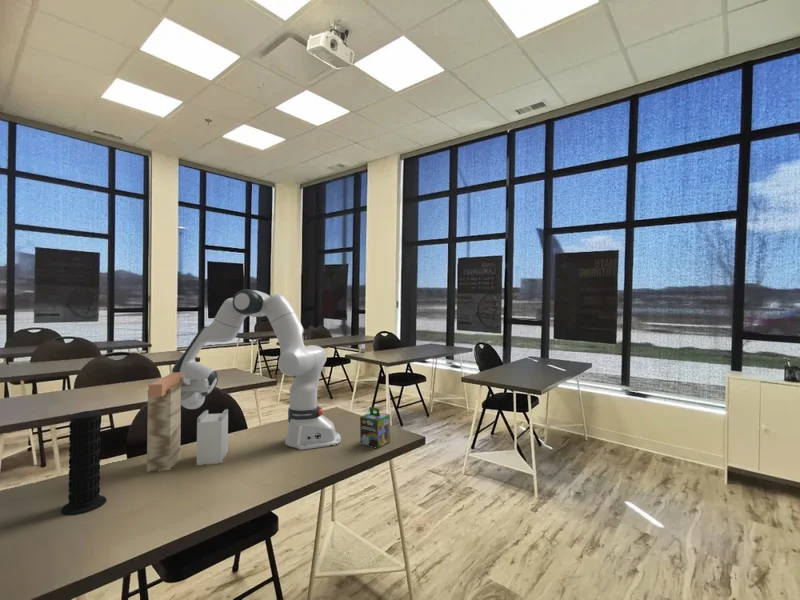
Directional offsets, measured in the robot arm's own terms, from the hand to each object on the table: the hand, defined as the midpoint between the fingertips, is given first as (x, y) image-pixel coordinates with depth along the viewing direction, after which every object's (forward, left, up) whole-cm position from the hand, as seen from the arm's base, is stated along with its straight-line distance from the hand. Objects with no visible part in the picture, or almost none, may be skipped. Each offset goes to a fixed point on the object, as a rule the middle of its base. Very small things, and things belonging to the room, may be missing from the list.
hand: (173, 379), depth 144 cm
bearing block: (0, +8, -28) cm, 30 cm away
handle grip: (+12, +33, -29) cm, 45 cm away
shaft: (0, +6, -2) cm, 6 cm away
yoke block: (-15, +5, -28) cm, 33 cm away
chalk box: (-75, 0, -29) cm, 81 cm away
